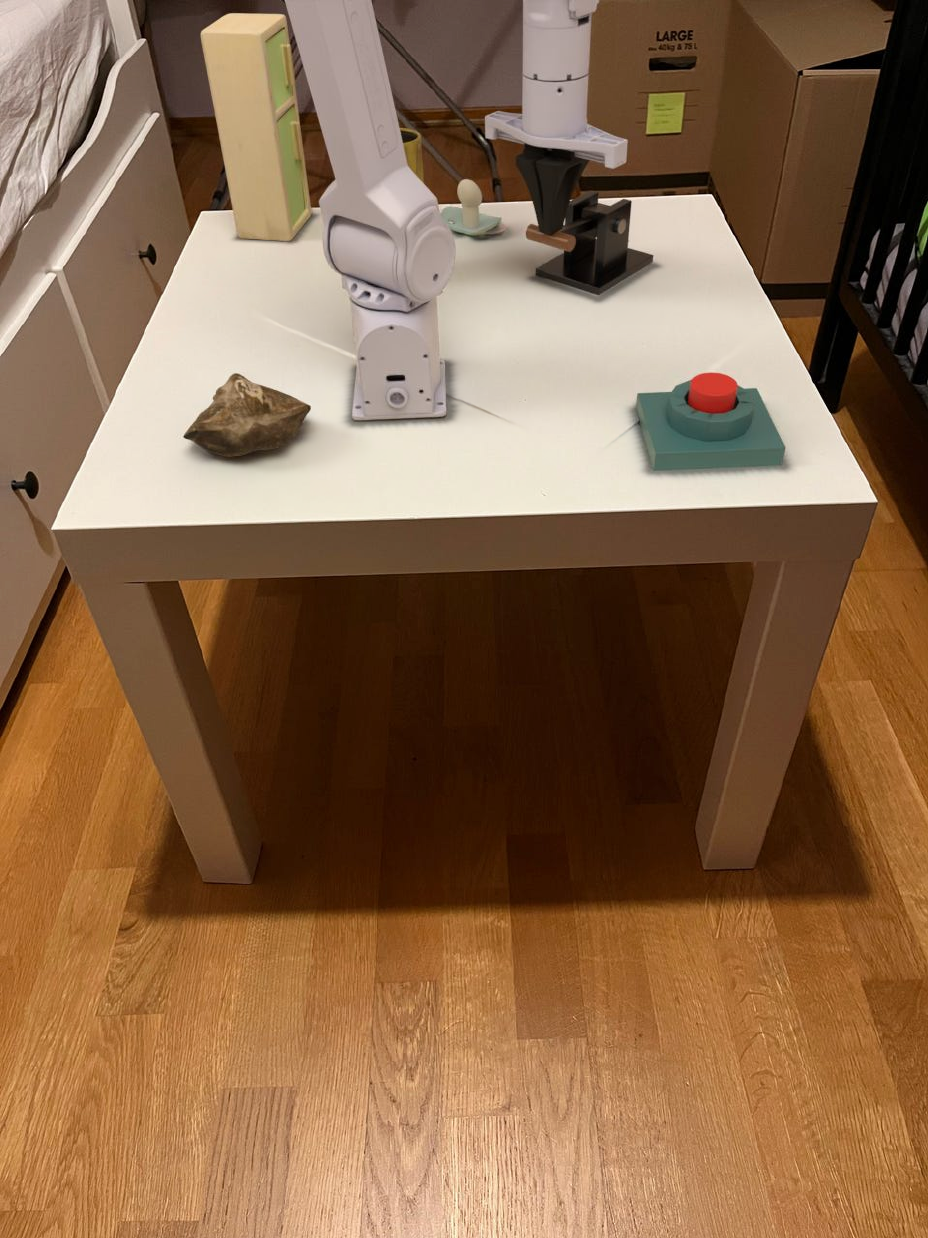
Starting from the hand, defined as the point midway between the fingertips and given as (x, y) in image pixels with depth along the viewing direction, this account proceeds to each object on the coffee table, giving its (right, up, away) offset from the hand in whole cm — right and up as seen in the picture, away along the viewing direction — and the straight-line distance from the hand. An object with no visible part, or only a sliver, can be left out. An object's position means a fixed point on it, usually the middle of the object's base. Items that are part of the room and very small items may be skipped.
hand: (550, 230), depth 94 cm
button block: (+11, -23, -14) cm, 29 cm away
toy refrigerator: (-30, +8, +21) cm, 38 cm away
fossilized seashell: (-26, -23, -13) cm, 37 cm away
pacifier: (-7, +7, +18) cm, 20 cm away
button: (+11, -20, -16) cm, 28 cm away
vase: (-15, -2, +9) cm, 17 cm away
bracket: (+5, -1, +9) cm, 11 cm away
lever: (+3, +1, +4) cm, 5 cm away
